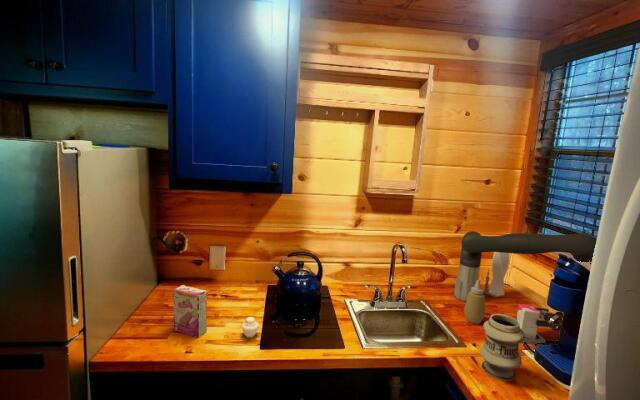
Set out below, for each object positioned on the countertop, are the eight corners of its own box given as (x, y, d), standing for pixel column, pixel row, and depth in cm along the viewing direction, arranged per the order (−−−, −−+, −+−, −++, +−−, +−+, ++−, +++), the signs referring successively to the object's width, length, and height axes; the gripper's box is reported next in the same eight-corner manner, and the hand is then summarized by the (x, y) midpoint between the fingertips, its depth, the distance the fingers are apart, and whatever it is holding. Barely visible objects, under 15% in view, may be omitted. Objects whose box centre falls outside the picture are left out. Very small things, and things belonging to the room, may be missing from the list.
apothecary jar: (471, 359, 117) (477, 310, 114) (504, 359, 118) (511, 311, 115) (490, 383, 105) (498, 329, 102) (527, 383, 106) (536, 330, 103)
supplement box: (536, 340, 131) (540, 312, 129) (519, 338, 132) (523, 310, 130) (529, 332, 136) (533, 305, 135) (513, 330, 137) (517, 303, 136)
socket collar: (517, 342, 129) (518, 338, 129) (505, 328, 139) (505, 325, 139) (544, 344, 129) (545, 340, 129) (530, 330, 139) (530, 327, 139)
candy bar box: (173, 331, 124) (172, 289, 122) (182, 325, 129) (182, 284, 126) (198, 338, 121) (198, 295, 118) (207, 331, 125) (207, 289, 123)
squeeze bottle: (483, 318, 147) (488, 279, 144) (483, 327, 139) (489, 285, 137) (463, 314, 150) (468, 275, 147) (462, 322, 143) (467, 281, 140)
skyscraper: (494, 289, 180) (501, 238, 175) (508, 296, 172) (516, 242, 168) (483, 291, 176) (489, 239, 172) (496, 298, 169) (504, 244, 165)
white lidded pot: (241, 340, 121) (241, 322, 120) (241, 331, 127) (241, 313, 126) (258, 339, 122) (259, 321, 121) (258, 330, 128) (258, 313, 127)
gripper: (562, 303, 138) (522, 300, 139) (588, 320, 124) (542, 317, 125) (560, 320, 140) (519, 317, 140) (584, 339, 125) (539, 336, 126)
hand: (530, 317), depth 133 cm, fingers open, 8 cm apart
